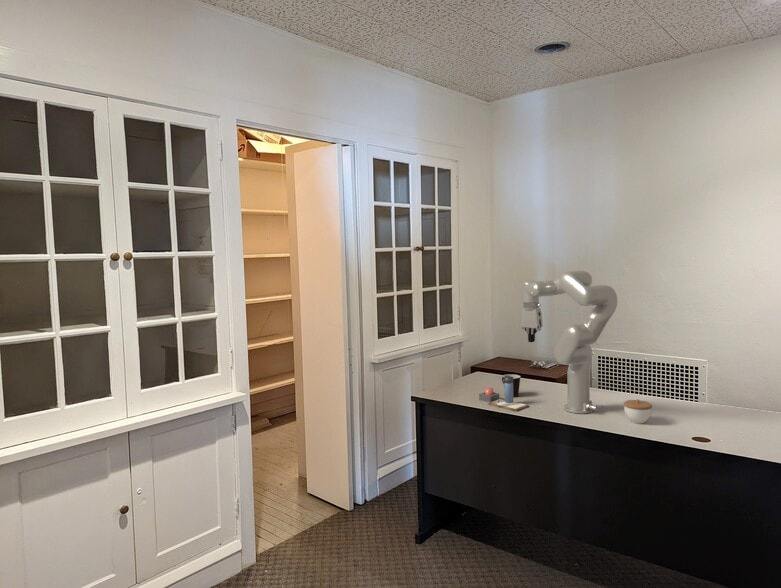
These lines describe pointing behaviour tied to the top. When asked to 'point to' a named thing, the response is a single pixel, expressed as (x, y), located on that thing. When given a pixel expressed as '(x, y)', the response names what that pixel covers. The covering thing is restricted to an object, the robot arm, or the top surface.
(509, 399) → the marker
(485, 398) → the button housing
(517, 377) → the coffee mug
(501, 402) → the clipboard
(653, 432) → the top surface
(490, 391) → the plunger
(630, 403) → the lidded jar
